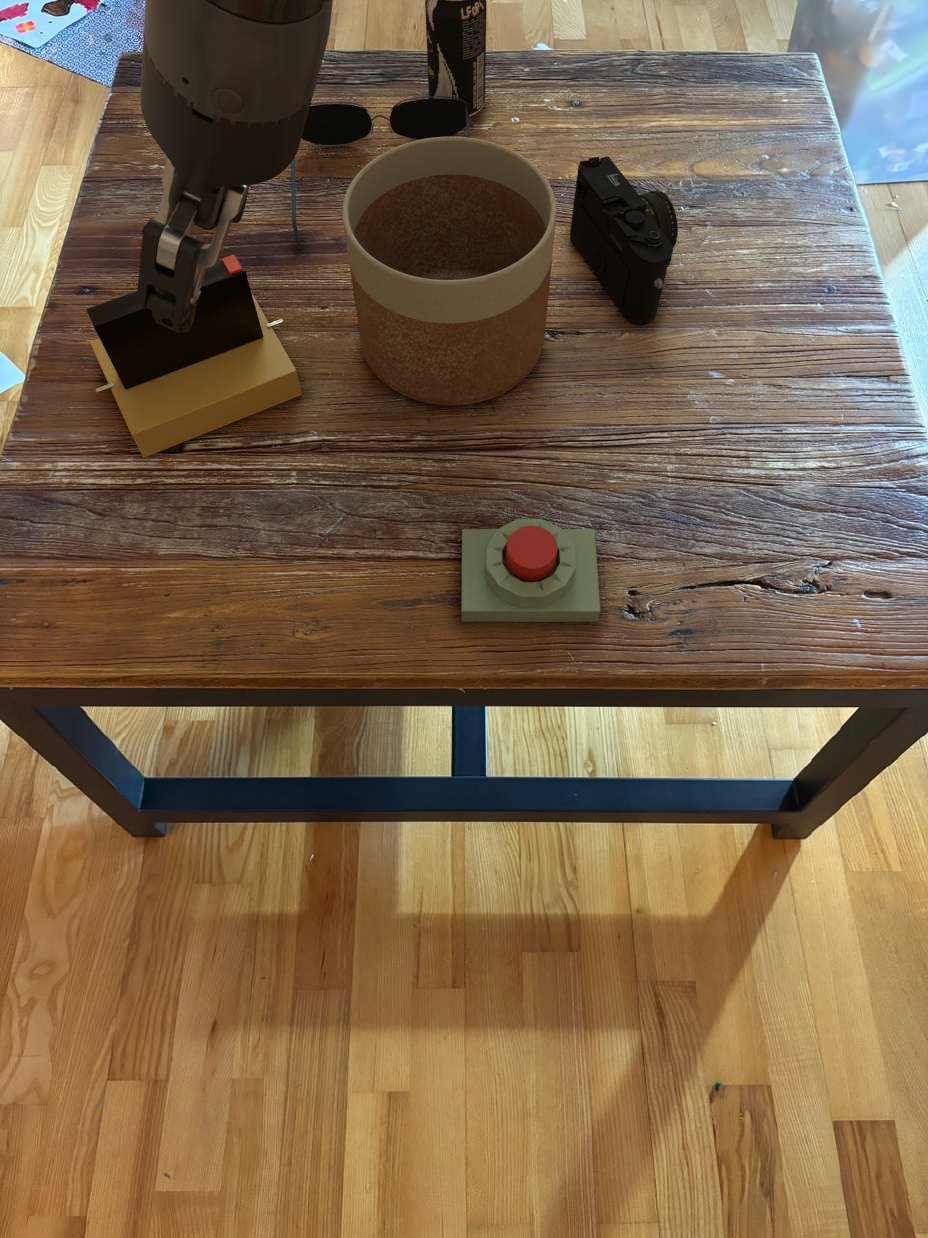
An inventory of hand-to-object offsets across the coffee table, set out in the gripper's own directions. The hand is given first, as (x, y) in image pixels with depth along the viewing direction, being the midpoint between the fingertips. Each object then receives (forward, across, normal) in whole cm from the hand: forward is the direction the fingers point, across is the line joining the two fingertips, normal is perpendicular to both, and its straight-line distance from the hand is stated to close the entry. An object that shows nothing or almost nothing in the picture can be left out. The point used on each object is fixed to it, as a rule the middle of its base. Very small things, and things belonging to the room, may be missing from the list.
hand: (198, 266), depth 55 cm
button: (+7, +6, +28) cm, 29 cm away
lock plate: (+23, -6, 0) cm, 24 cm away
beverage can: (+22, -46, +12) cm, 53 cm away
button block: (+10, +6, +29) cm, 31 cm away
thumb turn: (+21, -6, -1) cm, 22 cm away
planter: (+17, -16, +19) cm, 30 cm away
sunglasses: (+22, -32, +9) cm, 40 cm away
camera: (+12, -28, +31) cm, 44 cm away
